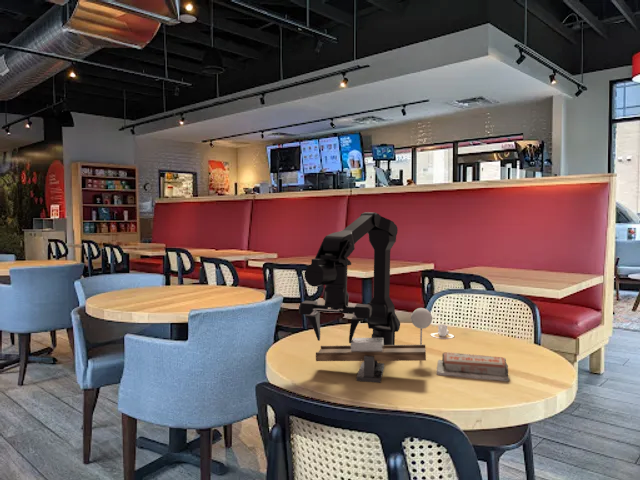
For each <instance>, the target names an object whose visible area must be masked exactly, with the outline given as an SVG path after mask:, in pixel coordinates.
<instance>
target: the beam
mask: <svg viewBox="0 0 640 480" xmlns="http://www.w3.org/2000/svg"><path fill="white" fill-rule="evenodd" d="M426 349H427V348H426V344H422V345H420V344H395V345H384V350H383V352H351V344H350V345H320V349H319V350H318V351H317V352H315V361H316V362H364V356H365V355H368V356H374V361H378V362H383V361H385V362H391V361H392V362H395V361H396V362H400V361H401V362H403V361H405V362H407V361H408V362H409V361H413V362H414V361H423V362H424V361H427V353H426V352H427V351H426Z"/></svg>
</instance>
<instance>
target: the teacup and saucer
mask: <svg viewBox="0 0 640 480" xmlns="http://www.w3.org/2000/svg"><path fill="white" fill-rule="evenodd" d="M437 329H438V330H437V332H433V333H432V332H431V333H430V336H431V337H433V338H437V339H443V340H444V339H445V340H446V339H447V340H448V339H453V338H455V335H454V334H452V333H449V331H450V330H449V329H448V325H447V324H443V323H441V324H438V325H437ZM436 335H438V336H436ZM447 335H448V336H449V337H447Z"/></svg>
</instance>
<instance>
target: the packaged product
mask: <svg viewBox="0 0 640 480" xmlns="http://www.w3.org/2000/svg"><path fill="white" fill-rule="evenodd" d="M441 357H442V359H438V360H437V366H436V375H438V376H446V377H447V376H448V377H454V378H455V377H456V378H457V377H458V378H468V379H475V380H476V379H477V380H488V381H489V380H490V381H500V382H509V381H510V377H509V365H508V364H507V360H506V358H505V357H501V356H491V355H490V356H489V355H483V354H482V355H481V354H469V353H459V352H449V351H447V352H443V353H442V356H441Z"/></svg>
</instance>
